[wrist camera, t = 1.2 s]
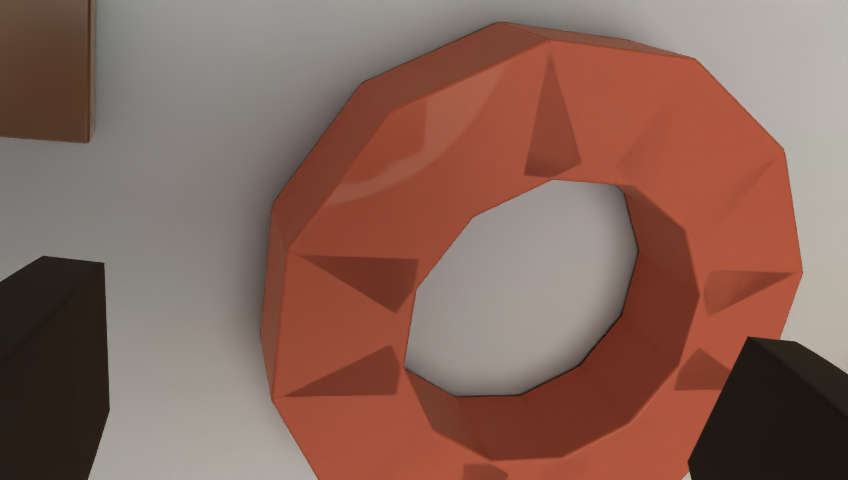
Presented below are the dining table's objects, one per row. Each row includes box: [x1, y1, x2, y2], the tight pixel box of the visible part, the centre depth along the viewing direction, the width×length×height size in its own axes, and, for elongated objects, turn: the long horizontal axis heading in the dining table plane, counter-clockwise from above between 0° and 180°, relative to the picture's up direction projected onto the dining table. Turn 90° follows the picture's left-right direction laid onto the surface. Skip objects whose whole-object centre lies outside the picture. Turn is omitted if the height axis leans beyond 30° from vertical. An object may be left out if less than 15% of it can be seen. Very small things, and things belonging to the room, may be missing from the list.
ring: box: [260, 22, 803, 480], centre depth 19 cm, size 13×13×3 cm
